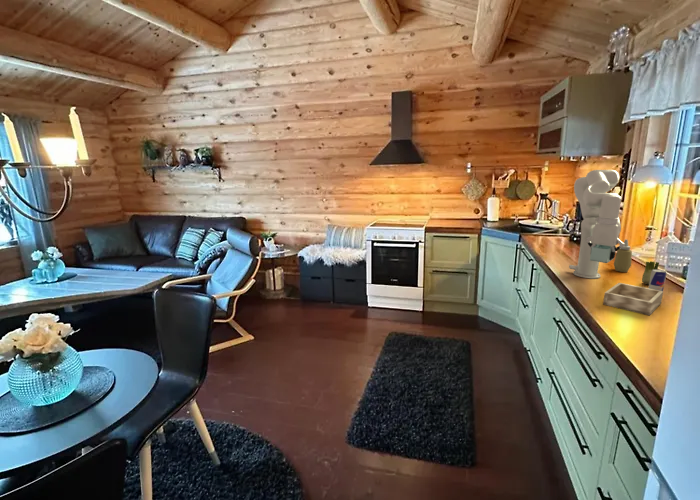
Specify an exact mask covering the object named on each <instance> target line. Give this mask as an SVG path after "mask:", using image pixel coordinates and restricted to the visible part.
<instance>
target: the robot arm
mask: <svg viewBox="0 0 700 500" xmlns="http://www.w3.org/2000/svg"><path fill="white" fill-rule="evenodd" d="M619 178H620V176H619V173H618V172H617V170H614V169H594V170H590V171H589V172H587V173H586V176H583V177H579V178H577V179H576V180H575V182H574V185H573V187H574V188H573V191H574V194H575V195H574V196H575V197H576V199H577V201H578V203H579V206H580V211H581V217H582V218H583V220H581V223H580V233H581V234H580V243H579V244H580V245H579V253H578V259H577V260H578V261H577V265H573V264H569V266H568V268H569V269H570V270H573V275H574V276H576V277H579V278H584V279H599V278H601V274H600V273H599V270H598V269H599V264H600V262H597V261H591V260H590V256H591V250H592V247H593V246H596V245H602V246H609V247H611V250H612V252H611V253H610V259H609V260H611V261H613V260H614V259H615V257H616V253H617V250H619V249H620V248H622V247H623V246H624V245H625V244H624V242H623V241H622V240H621V239H619V236H620V233H621V230H622V224H621V221H620V217H619V215H620V208H621V202H622V197H621V196H620V195H619V194H618V193H615V192H610V191H611V190H612V189H613V188H615V187H616V186H617V185H618V182H619ZM617 245H618V246H617ZM616 246H617V247H616ZM612 259H613V260H612Z"/></svg>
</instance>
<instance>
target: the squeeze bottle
mask: <svg viewBox="0 0 700 500" xmlns="http://www.w3.org/2000/svg"><path fill="white" fill-rule="evenodd" d="M623 243H624V244H625V245H624V246H623V247H622V248H620V249H619V250H617V251H616V253H615V257H614V261H613V267H614V270H615V271H616V272H619V273H627V272H629V270H630V268H631V267H632V256H633V255H632V253H633V252H632V250H631V246H630V245H629V240H628V239H624V242H623Z"/></svg>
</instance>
